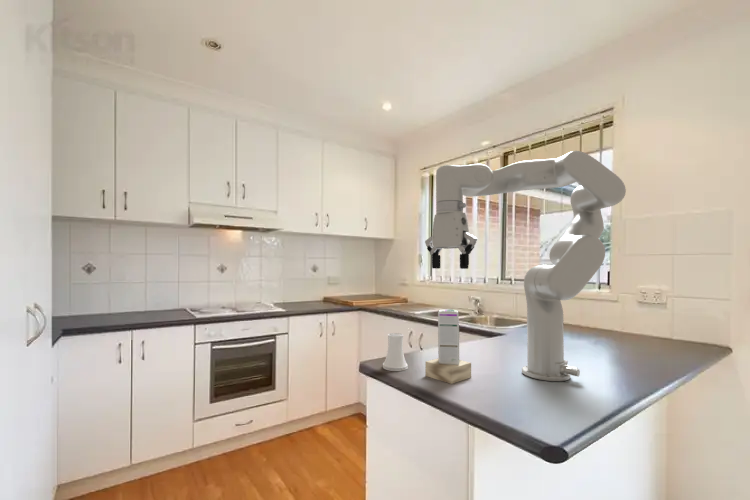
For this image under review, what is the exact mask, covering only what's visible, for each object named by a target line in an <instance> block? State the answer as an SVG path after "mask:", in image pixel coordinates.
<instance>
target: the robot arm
mask: <svg viewBox="0 0 750 500" xmlns="http://www.w3.org/2000/svg"><path fill="white" fill-rule="evenodd" d="M435 172H436V173H435V182H436V184H435V185H436V187H435V189H436V190H435V191H436V193H435V194H436V195H435V199H436V201H435V203H436V205H435V206H436V207H435V209H436V212H435V213H436V214H434V218H433V223H432V233H431V234H432V235H431V236H429V237H428V238H427V239H426V240H425V241H424V243H425V245H426V249H427V251H428V252H429V255H431V269H441V255H440V253H441V251H442V250H443V249H446V250H447V249H451V250H452V249H458V250H459V252H461V253H460V254H459V269H461V270H463V269H464V270H468V269H469V266H470V265H469V264H470V255H471V254H472V251H473V250H474V249H475V245H476V243H477V242H478V238H477V237H476V236H474V235H473V234H470V233H469V225H468V224H469V223H468V219H467V214H466V212H464V209H465V208H466V207H467V203H465V202H464V198H463V197H481V196H482V197H483V196H484V197H485V196H494V195H499V194H507V193H509V194H510V193H515V192H521V191H532V190H543V189H545V190H546V189H556V188H557V189H558V188H562V187H563V188H564V187H566V186H569V185H572V184H575V183H577V184H578V185H579V186H577V187H576V188H575V189H574V190H573V191H572V192H571V193H570V194H571V195H570V205H571V209H572V211H573V213H572V214H573V218H572V221H571V223H570V224H569V226H568V227H567V229H565V231H564V232H563V233H562V234H561V236H560V237H559V238H558V239H557V240H556V241H555V243H554V244H553V245H552V247H551V248H550V251H549V253H548V254H549V255H548V256H549V261H550V262H551V264H539V265H535V266H533V267H531V268H530V269H529V270H527V272H526V274H525V275H524V279H523V288H524V294H525V295H524V296H525V300H526V313H527V314H526V327H527V328H526V332H527V333H526V334H527V336H526V341H527V342H526V345H527V353H526V354H527V355H526V357H527V361H526V362H527V365H525V366H522V368H521V372H522V374H523V375H525V376H526V377H529V378H533V379H536V380H541V381H546V382H547V381H549V382H564V381H568V380H570V379H571V376H573V377H579V376H580V372H581V371H580V369H579V368H578V367H576V366H570V365H569V364H568V362H569V361H568V360H565V357H564V356H565V353H564V351H565V350H564V346H565V345H564V344H565V343H564V340H565V339H564V309H563V305H562V302H561V301H567V300H572V299H573V298H575V297H576V296H577V295H578V294H580V293H581V292H582V291H583V289H584V288H585V286H587V284H588V283H589V281H590V280H591V279H592V278H593V276H594V275H595V274H596V273H597V272H598V270H599V269H600V268H601V266H602V265H603V263H604V260H605V257H606V248H605V245H604V243H603V242H602V241H601V240H600V237H601V235H602V233H604V230H605V229H604V226H605V225H604V219H603V215H602V212H601V209H606V208H610V207H613V206H616V205H618V204H620V202H622V201H623V200H624V198H625V196H626V191H627V188H626V185H625V183H624V182H623V180H622V178H620V177H619V176H618V175H617V174H616V173H614V172H613V171H612V170H610V169H609V168H608V167H607V166H606V165H604V164H603V163H601V162H600V161H599V160H597V159H596V158H595V157H593V156H592V155H589V154H588V153H586V152H584V151H581V150H572V151H569V152H567V153H565V154H564V155H562V156H559V157H557V158H546V159H532V160H531V159H530V160H522V161H518V162H515V163H511V164H508V165H506V166H504V167H501V168H498V169H494V170H492V169H491V168H490V166H488V165H486V164H483V163H474V164H473V163H472V164H466V165H454V164H445V165H442V166H440V167H438V168H437V170H436V171H435Z"/></svg>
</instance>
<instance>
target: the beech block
mask: <svg viewBox="0 0 750 500" xmlns="http://www.w3.org/2000/svg"><path fill="white" fill-rule="evenodd" d="M424 365H425V372H424V373H425V377H428V378H431V379H434V380H437V381H441V382H445V383H448V384H450V385H453V384H455V383H458V382H462V381H464V380H467V379H470V378H472V362H469V361H465V360H461V359H459V365H448V364H439V357H438V358H434V359H430V360H426V361H425V364H424Z"/></svg>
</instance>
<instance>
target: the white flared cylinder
mask: <svg viewBox="0 0 750 500" xmlns="http://www.w3.org/2000/svg"><path fill="white" fill-rule="evenodd" d="M387 340H388V341H387V342H388V343H387V344H388V346H387V351H386V352H387V353H386V357H385V360H384V362H382V365H383V366H382V369H384V370H385V371H386V370H387V371H392V372H402V371H406V370H408V367H409V366H408V365H409V364H408V363H407V361H406V358H405V356H404V349H403V345H404V344H403V343H404V334H403V333H399V332H398V333H397V332H393V333H387Z"/></svg>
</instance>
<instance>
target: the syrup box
mask: <svg viewBox="0 0 750 500" xmlns="http://www.w3.org/2000/svg"><path fill="white" fill-rule="evenodd" d="M459 316H460V315H459V310H458V309H450V308H446V309H445V308H444V309H439V310H438V312H437V318H438V319H437V323H438V324H437V330H438V331H437V337H438V339H437V340H438V341H437V342H438V344H437V346H438V348H437V349H438V358H439V364H448V365H459V360H460V323H459V322H460V321H459V319H460V317H459Z"/></svg>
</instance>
